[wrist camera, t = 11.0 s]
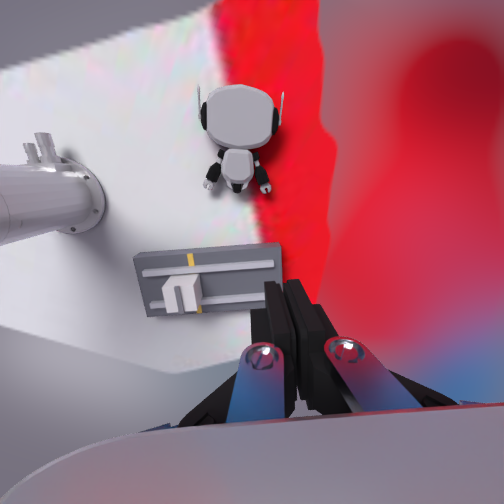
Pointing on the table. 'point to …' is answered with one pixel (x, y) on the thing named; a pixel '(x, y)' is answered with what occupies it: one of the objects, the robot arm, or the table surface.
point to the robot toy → (239, 133)
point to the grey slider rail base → (212, 275)
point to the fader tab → (182, 293)
